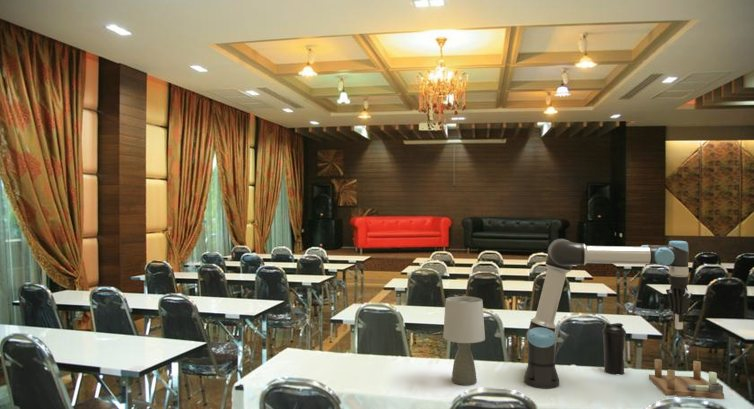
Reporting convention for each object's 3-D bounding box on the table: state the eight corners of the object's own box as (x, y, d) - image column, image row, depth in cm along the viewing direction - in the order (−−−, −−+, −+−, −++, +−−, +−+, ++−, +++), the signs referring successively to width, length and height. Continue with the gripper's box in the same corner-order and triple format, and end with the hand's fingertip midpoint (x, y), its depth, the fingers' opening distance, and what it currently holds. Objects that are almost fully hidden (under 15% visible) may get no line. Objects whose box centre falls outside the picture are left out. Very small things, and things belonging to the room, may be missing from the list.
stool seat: (665, 395, 222) (665, 372, 222) (649, 378, 243) (648, 357, 243) (724, 398, 218) (723, 375, 218) (701, 381, 239) (701, 360, 239)
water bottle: (628, 375, 248) (628, 326, 248) (605, 374, 250) (604, 325, 250) (623, 369, 257) (622, 321, 258) (600, 368, 259) (600, 320, 260)
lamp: (435, 381, 239) (434, 299, 240) (458, 372, 253) (458, 294, 253) (470, 391, 227) (470, 304, 227) (493, 381, 240) (492, 299, 241)
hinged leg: (689, 390, 221) (688, 372, 221) (686, 387, 224) (686, 370, 224) (718, 392, 219) (718, 374, 219) (714, 389, 222) (714, 371, 222)
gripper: (660, 274, 242) (661, 326, 242) (682, 277, 229) (683, 332, 229) (675, 273, 244) (675, 325, 244) (697, 277, 231) (697, 331, 231)
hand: (679, 328), depth 236 cm, fingers closed
